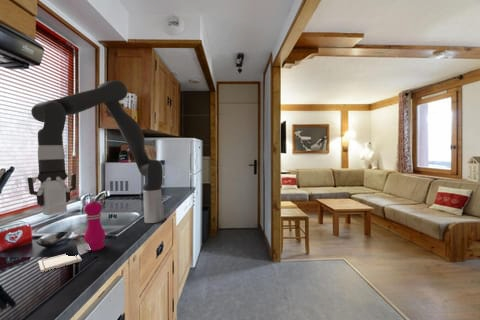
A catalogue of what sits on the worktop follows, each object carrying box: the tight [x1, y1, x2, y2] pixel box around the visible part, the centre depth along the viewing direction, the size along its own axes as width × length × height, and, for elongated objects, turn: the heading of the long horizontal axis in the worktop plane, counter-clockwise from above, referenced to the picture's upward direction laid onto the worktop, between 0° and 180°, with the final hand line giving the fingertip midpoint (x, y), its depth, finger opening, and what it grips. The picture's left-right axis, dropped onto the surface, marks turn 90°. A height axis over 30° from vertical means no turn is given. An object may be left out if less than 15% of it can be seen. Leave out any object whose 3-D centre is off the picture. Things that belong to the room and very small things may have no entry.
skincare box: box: [40, 179, 68, 216], centre depth 86 cm, size 6×4×12 cm
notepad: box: [37, 253, 83, 273], centre depth 84 cm, size 11×10×1 cm
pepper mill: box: [83, 197, 106, 252], centre depth 95 cm, size 7×7×20 cm
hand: (54, 203), depth 87 cm, fingers closed on skincare box, 6 cm apart
